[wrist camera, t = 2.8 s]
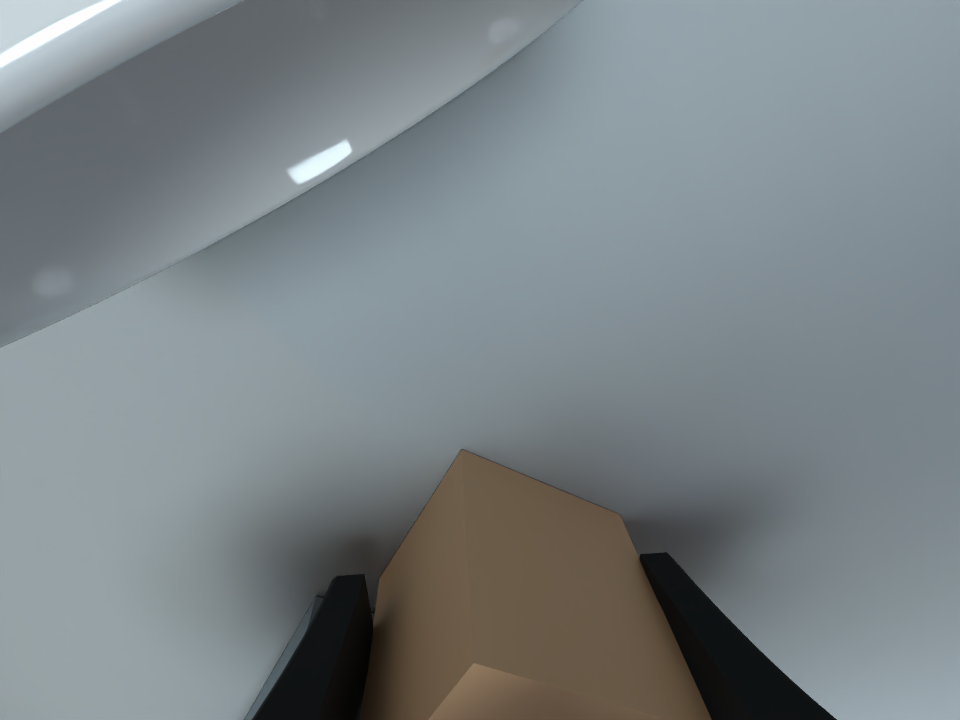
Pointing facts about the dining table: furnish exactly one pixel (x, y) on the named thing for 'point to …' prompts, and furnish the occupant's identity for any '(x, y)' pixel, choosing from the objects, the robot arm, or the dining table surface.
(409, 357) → the dining table surface
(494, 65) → the white cup
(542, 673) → the tan rectangular block
